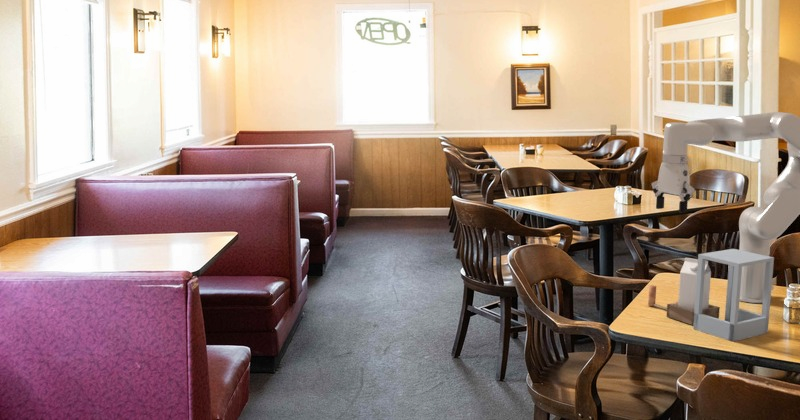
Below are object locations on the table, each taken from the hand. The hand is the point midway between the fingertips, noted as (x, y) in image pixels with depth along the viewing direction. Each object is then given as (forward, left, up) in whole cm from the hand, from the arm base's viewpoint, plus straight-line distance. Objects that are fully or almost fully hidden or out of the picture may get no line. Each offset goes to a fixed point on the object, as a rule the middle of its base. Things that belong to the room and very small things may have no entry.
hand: (671, 210), depth 284 cm
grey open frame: (+12, +35, -30) cm, 48 cm away
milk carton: (+12, +21, -30) cm, 39 cm away
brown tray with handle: (+12, +15, -30) cm, 36 cm away
